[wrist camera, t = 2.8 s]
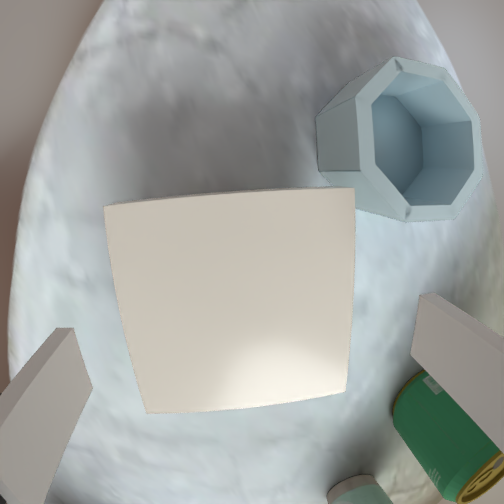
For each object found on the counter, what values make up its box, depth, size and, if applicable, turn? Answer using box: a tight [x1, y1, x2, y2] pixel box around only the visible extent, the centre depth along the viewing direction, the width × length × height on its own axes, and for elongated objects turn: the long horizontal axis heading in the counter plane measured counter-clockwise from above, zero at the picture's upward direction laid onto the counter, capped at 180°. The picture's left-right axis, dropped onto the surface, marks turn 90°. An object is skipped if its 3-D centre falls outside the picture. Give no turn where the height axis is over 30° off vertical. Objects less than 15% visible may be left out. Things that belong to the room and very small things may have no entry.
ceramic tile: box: [103, 186, 355, 414], centre depth 16 cm, size 11×11×2 cm
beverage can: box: [393, 369, 504, 504], centre depth 20 cm, size 8×8×12 cm
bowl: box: [315, 56, 483, 222], centre depth 17 cm, size 8×8×6 cm
